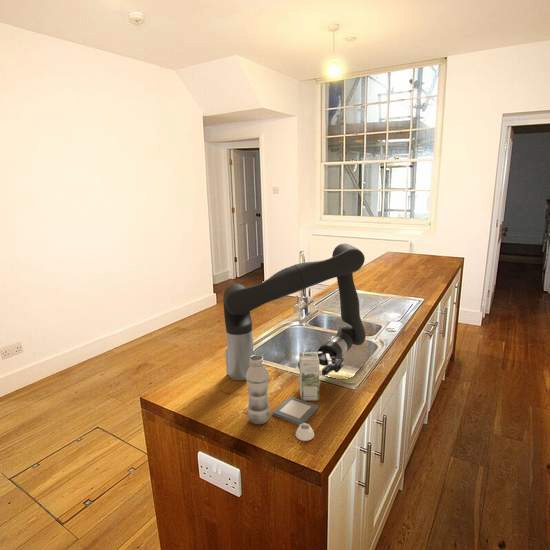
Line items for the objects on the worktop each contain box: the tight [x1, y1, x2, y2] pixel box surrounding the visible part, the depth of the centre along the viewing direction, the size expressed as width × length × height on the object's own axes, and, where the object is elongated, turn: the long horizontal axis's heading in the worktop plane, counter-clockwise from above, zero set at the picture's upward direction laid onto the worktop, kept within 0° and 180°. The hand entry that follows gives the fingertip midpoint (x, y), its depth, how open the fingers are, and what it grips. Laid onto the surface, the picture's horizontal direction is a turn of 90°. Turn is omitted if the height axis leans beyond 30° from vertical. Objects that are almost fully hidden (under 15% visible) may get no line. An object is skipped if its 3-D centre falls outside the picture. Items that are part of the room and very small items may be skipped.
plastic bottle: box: [245, 354, 271, 425], centre depth 109 cm, size 6×7×20 cm
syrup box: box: [298, 351, 320, 402], centre depth 121 cm, size 6×6×14 cm
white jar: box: [295, 422, 315, 442], centre depth 104 cm, size 5×3×5 cm
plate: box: [272, 396, 319, 426], centre depth 115 cm, size 10×10×1 cm
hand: (311, 369), depth 122 cm, fingers open, 8 cm apart
